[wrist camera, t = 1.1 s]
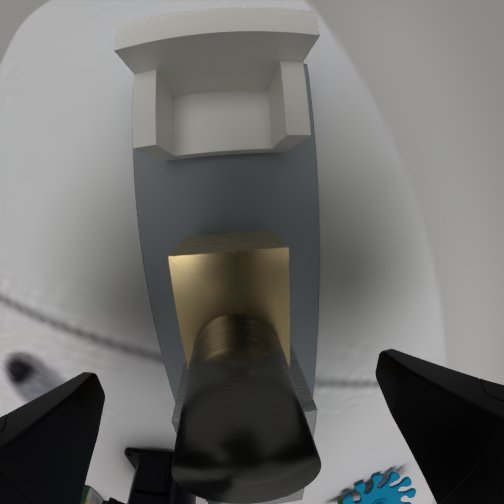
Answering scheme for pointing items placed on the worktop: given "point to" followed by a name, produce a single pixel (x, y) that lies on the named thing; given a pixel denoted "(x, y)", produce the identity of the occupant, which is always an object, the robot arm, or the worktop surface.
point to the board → (232, 229)
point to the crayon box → (90, 496)
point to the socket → (219, 80)
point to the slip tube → (238, 371)
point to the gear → (381, 491)
